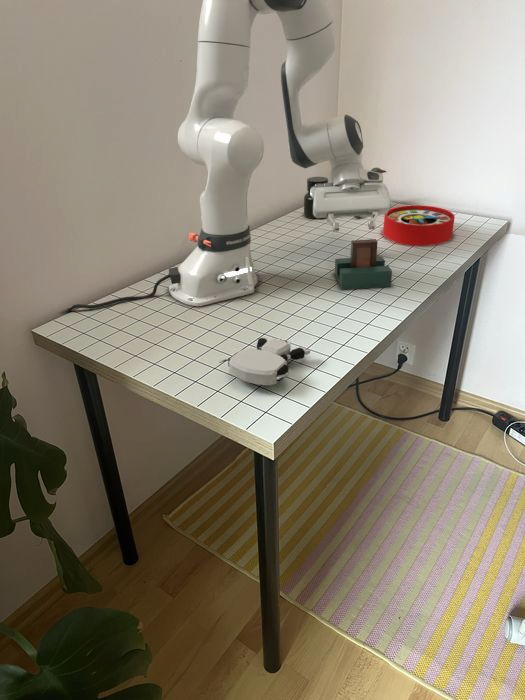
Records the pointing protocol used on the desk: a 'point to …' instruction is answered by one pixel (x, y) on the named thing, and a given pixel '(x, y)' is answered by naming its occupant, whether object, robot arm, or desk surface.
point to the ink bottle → (307, 198)
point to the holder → (362, 275)
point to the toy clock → (418, 225)
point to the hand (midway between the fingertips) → (354, 229)
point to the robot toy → (264, 361)
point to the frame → (363, 253)
